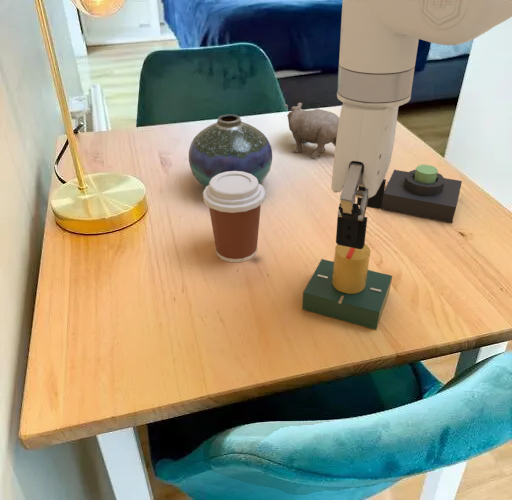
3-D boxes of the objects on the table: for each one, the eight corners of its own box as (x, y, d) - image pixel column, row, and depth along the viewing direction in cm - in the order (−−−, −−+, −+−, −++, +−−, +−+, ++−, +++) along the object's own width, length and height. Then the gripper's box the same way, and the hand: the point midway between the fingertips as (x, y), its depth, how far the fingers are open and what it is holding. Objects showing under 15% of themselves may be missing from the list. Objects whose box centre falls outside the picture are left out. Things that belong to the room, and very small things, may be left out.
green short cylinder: (436, 177, 89) (439, 166, 87) (434, 186, 86) (436, 175, 85) (415, 173, 90) (417, 163, 89) (412, 182, 87) (414, 171, 86)
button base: (458, 196, 92) (464, 171, 89) (452, 223, 85) (458, 197, 82) (391, 184, 96) (395, 160, 93) (380, 209, 89) (384, 184, 86)
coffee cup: (265, 267, 75) (265, 197, 68) (204, 267, 75) (198, 197, 68) (265, 234, 83) (265, 167, 76) (209, 234, 83) (204, 167, 76)
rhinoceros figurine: (330, 159, 99) (307, 86, 99) (289, 177, 111) (268, 111, 110) (357, 152, 104) (335, 82, 103) (315, 170, 115) (295, 106, 114)
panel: (389, 291, 70) (393, 273, 69) (376, 331, 64) (379, 312, 62) (320, 274, 74) (322, 256, 72) (301, 310, 67) (302, 292, 66)
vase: (268, 166, 103) (269, 102, 95) (275, 204, 91) (276, 133, 83) (193, 169, 102) (187, 104, 95) (189, 207, 90) (182, 136, 82)
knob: (337, 270, 70) (341, 235, 66) (369, 277, 68) (374, 242, 65) (327, 288, 66) (331, 252, 63) (360, 297, 65) (365, 261, 61)
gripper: (359, 59, 60) (348, 189, 69) (313, 105, 47) (308, 256, 56) (424, 64, 57) (404, 198, 67) (395, 114, 44) (375, 271, 54)
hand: (360, 224), depth 62 cm, fingers open, 9 cm apart
